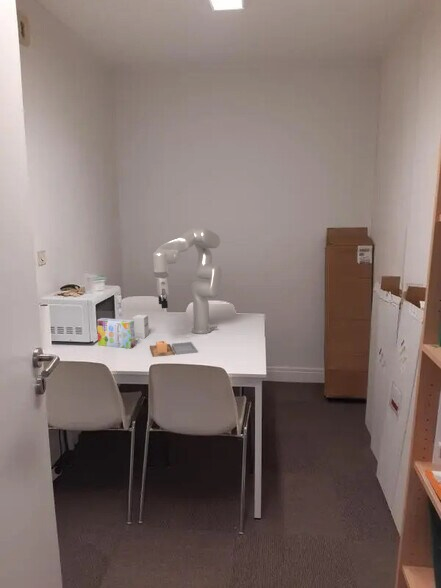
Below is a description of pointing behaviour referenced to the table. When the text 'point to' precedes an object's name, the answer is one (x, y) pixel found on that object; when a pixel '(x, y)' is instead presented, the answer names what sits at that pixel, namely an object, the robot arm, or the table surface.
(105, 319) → the snack box
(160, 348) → the letter cube
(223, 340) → the table surface
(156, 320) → the table surface
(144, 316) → the supplement box
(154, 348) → the wooden tray
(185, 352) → the grey tray
